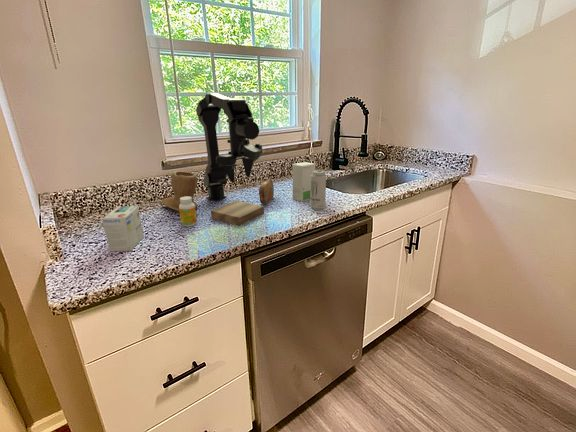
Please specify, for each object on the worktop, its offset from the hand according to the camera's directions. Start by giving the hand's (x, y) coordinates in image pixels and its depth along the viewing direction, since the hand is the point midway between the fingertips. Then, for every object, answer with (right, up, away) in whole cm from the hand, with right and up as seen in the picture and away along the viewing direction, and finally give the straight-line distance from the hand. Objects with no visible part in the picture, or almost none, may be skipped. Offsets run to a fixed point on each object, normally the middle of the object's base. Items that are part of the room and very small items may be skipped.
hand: (240, 179), depth 116 cm
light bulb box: (-32, -22, -19) cm, 43 cm away
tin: (+8, -7, +19) cm, 22 cm away
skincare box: (+24, -6, +22) cm, 33 cm away
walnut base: (-1, -13, +3) cm, 14 cm away
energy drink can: (+29, -11, +10) cm, 33 cm away
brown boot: (-26, -10, +13) cm, 30 cm away
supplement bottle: (-18, -17, -4) cm, 25 cm away
